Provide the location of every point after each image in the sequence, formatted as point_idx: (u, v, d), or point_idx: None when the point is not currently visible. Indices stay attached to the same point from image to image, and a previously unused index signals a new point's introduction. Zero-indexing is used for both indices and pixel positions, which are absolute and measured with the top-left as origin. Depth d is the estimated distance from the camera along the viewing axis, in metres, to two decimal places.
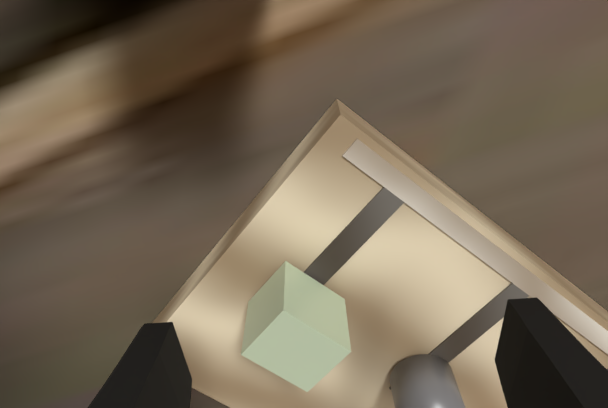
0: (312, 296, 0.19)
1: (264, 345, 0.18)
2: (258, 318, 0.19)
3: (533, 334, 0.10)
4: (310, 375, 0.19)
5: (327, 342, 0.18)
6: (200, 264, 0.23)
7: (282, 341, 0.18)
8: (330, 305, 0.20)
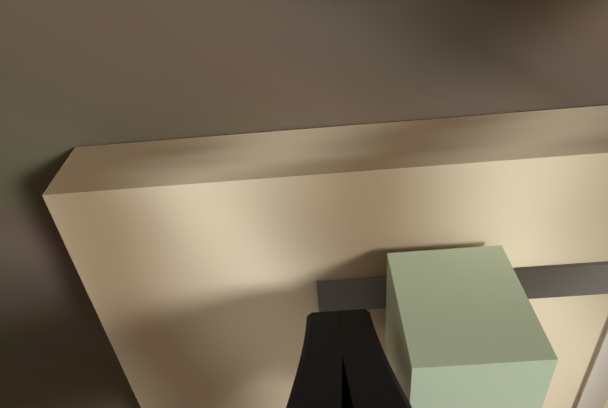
0: None
1: (461, 380, 0.09)
2: (450, 317, 0.10)
3: (341, 346, 0.10)
4: None
5: None
6: (266, 133, 0.12)
7: (487, 391, 0.09)
8: None
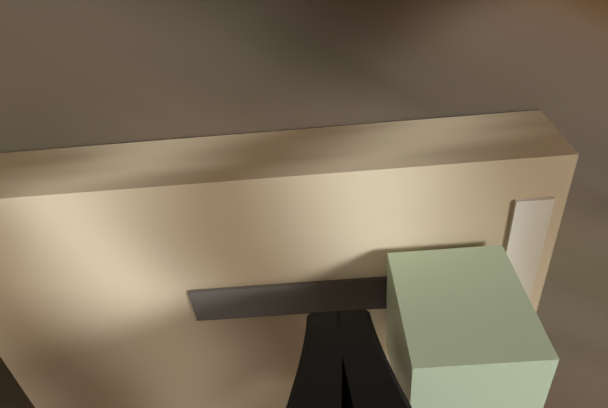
0: None
1: (462, 380, 0.09)
2: (451, 317, 0.10)
3: (341, 346, 0.10)
4: None
5: None
6: (137, 143, 0.12)
7: (487, 391, 0.09)
8: None
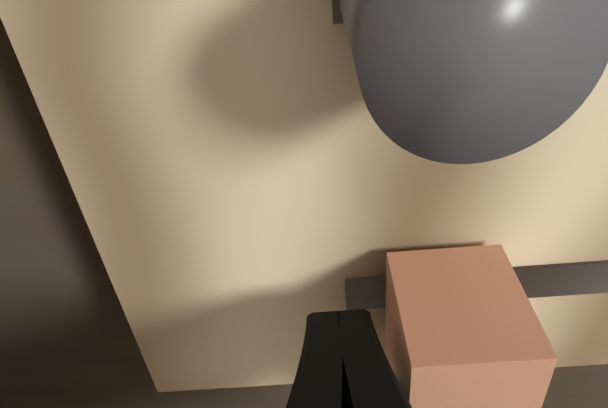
0: None
1: None
2: None
3: (341, 346, 0.10)
4: None
5: None
6: None
7: None
8: None
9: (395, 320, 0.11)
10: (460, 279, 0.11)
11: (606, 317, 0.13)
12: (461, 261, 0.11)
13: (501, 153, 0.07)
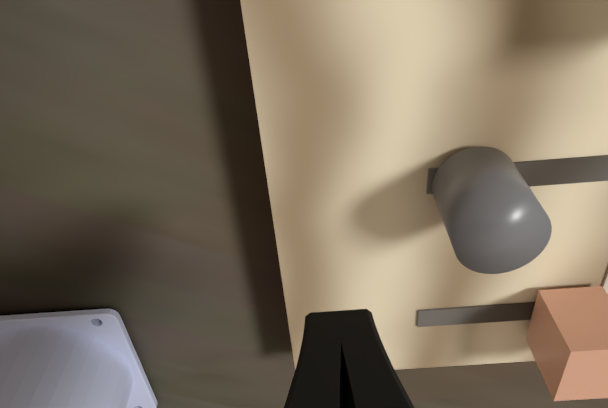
0: None
1: None
2: None
3: (343, 346, 0.10)
4: None
5: None
6: None
7: None
8: None
9: (548, 327, 0.20)
10: (584, 306, 0.20)
11: None
12: (582, 295, 0.20)
13: (508, 269, 0.16)
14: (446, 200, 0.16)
